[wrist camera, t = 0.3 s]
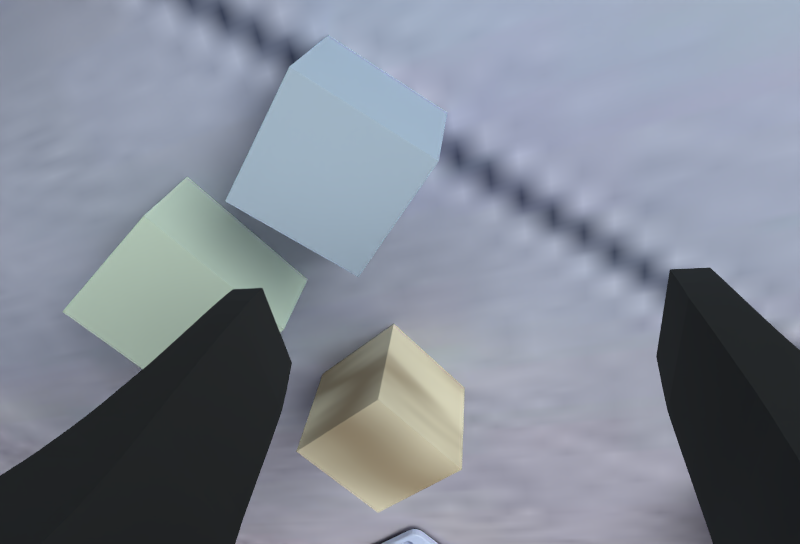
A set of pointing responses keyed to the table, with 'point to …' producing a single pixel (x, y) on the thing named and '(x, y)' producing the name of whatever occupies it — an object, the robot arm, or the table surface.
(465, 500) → the table surface
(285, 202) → the slate cube
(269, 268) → the pale green block
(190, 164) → the table surface
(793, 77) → the table surface
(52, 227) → the table surface
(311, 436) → the beech cube
